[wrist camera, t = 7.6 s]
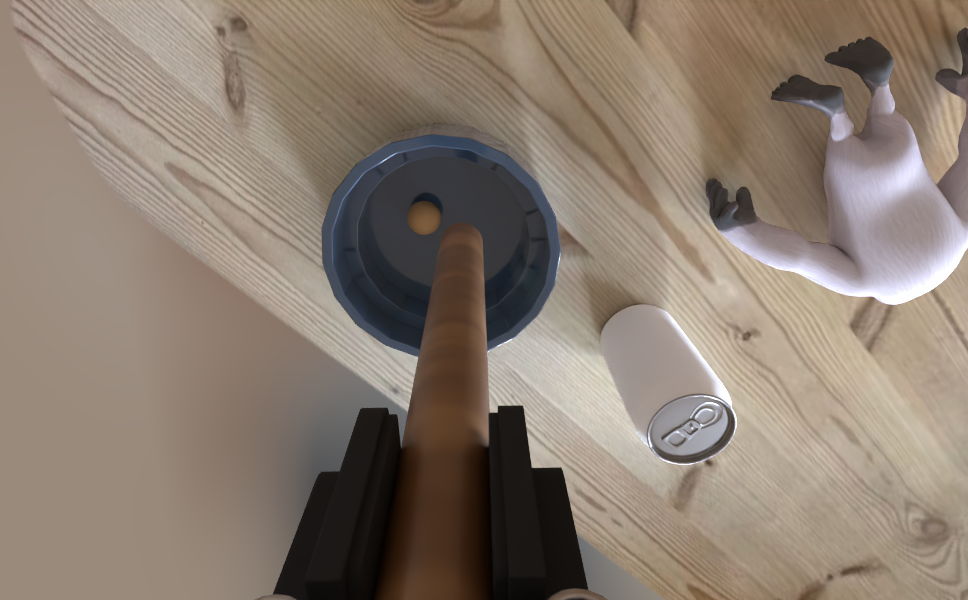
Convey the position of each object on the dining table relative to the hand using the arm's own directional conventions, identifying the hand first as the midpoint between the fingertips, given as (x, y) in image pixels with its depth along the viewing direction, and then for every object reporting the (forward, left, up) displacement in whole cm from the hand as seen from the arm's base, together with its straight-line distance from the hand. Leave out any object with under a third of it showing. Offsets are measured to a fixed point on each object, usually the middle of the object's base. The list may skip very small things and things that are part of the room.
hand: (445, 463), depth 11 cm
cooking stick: (0, 0, -15) cm, 15 cm away
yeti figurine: (+15, +24, -29) cm, 40 cm away
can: (+19, +6, -29) cm, 35 cm away
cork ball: (+1, -4, -27) cm, 27 cm away
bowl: (+3, -3, -29) cm, 29 cm away
